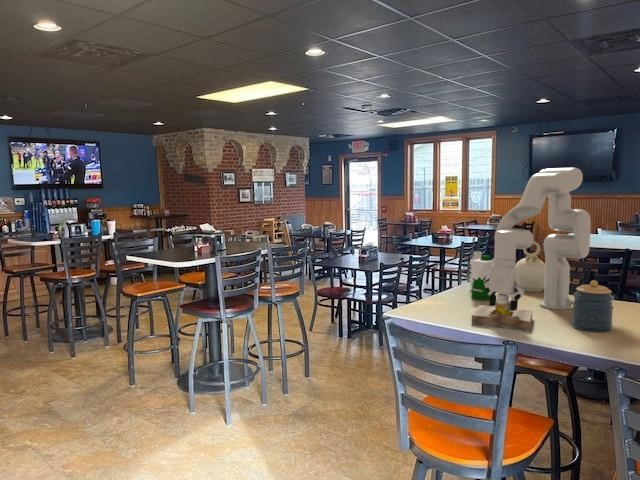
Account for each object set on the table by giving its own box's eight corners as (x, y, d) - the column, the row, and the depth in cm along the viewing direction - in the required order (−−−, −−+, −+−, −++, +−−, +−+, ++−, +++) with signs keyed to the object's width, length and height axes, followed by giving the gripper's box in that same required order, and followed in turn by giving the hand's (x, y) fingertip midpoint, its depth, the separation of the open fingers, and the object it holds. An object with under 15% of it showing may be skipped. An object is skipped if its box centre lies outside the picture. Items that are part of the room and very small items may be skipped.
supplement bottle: (513, 320, 180) (514, 295, 179) (501, 321, 178) (502, 296, 177) (503, 316, 185) (504, 292, 184) (492, 318, 183) (492, 293, 182)
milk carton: (495, 298, 222) (496, 256, 220) (485, 301, 216) (487, 257, 214) (478, 295, 228) (479, 254, 226) (468, 298, 222) (469, 256, 220)
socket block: (532, 319, 185) (532, 310, 185) (529, 331, 169) (529, 321, 169) (478, 313, 194) (479, 305, 194) (471, 324, 178) (471, 315, 178)
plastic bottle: (484, 292, 236) (485, 252, 234) (470, 291, 237) (471, 252, 235) (482, 289, 242) (483, 250, 240) (468, 289, 243) (469, 250, 241)
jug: (544, 294, 231) (546, 243, 229) (510, 290, 240) (512, 241, 237) (548, 288, 244) (550, 240, 242) (516, 285, 252) (518, 239, 250)
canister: (573, 330, 170) (576, 282, 168) (569, 321, 182) (571, 276, 180) (615, 334, 165) (618, 284, 163) (608, 325, 177) (611, 278, 175)
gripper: (479, 261, 185) (477, 304, 186) (519, 266, 170) (517, 314, 172) (491, 259, 189) (490, 302, 190) (531, 265, 174) (529, 311, 176)
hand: (502, 307), depth 181 cm, fingers open, 8 cm apart
